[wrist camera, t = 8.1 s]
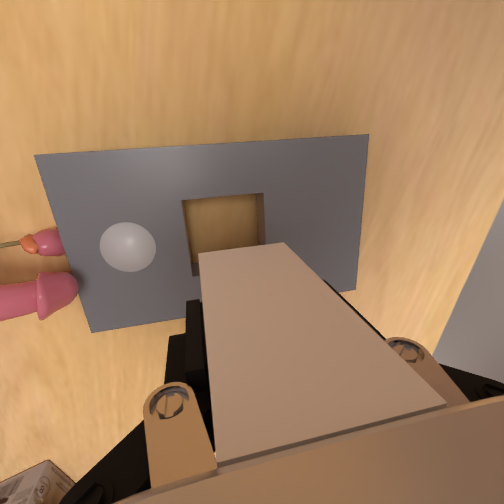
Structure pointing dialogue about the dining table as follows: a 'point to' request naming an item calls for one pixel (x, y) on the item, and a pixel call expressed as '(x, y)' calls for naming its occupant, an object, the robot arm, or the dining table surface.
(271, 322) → the white square peg
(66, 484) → the coffee box
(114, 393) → the dining table surface
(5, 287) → the anatomy model
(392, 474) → the robot arm
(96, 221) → the block
